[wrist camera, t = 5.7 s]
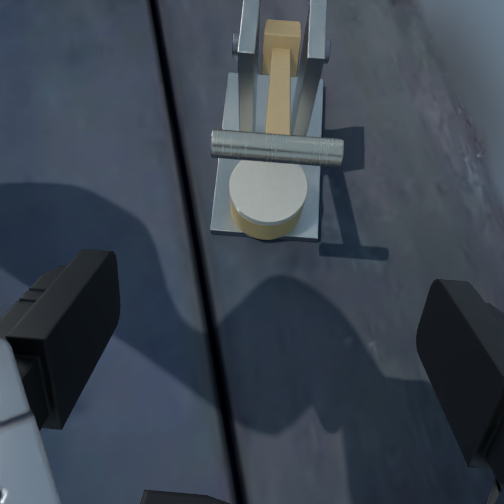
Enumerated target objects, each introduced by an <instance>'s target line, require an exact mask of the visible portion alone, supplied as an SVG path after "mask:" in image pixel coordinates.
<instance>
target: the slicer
mask: <svg viewBox="0 0 504 504" xmlns="http://www.w3.org/2000/svg"><path fill="white" fill-rule="evenodd" d="M326 13H327V0H310V4H309V10H308V16H307V23H306V29H305V35H304V41H303V47H302V53H301V59H300V65H299V71H298V77H297V78H296V77H291V135H299V136H312V137H322V111H323V83H324V80H322V79H320V77H321V73H322V69H323V64H327V63H328V61H329V56H330V50H331V40H330V39H326ZM259 23H260V0H243V8H242V17H241V26H240V32H234V33H233V41H232V55H233V57H238V73H231V72H229V74H228V82H227V91H226V99H225V108H224V116H223V125H222V130H235V131H248V132H260V133H265V127H266V115H267V103H268V91H269V79H270V75H258V49H259ZM240 161H242V160H234V159H222V158H219V159H218V168H217V176H216V185H215V193H214V202H213V210H212V219H211V227H210V231H211V234H218V235H231V236H243V237H251V236H249V235H247V234H246V233H244V232H243V231H242V230H241V229H240V228H239V227H238V226H237V225H236V223H235V221H234V219H233V217H232V213H231V205H230V192H229V182H230V177H231V174H232V172H233V170H234V168H235V167H236V166H237V164H238V163H239V162H240ZM299 166H300V167H301V168H302V170H303V171H304V173H305V176H306V179H307V184H308V191H307V196H306V200H305V203H304V206H303V209H302V212H301V216H300V219H299V221H298V223H297V224H296V226H295V227H294V228H293V229H292V230H291V231H290V232H289V233H287V234H286V235H284V236H282V237H280V238H276V239H281V240H293V241H305V242H316V241H317V239H318V224H319V196H320V168H321V166H311V165H299Z"/></svg>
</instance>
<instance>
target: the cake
mask: <svg viewBox="0 0 504 504" xmlns="http://www.w3.org/2000/svg"><path fill="white" fill-rule="evenodd" d="M307 191H308V184H307V179H306V176H305V173H304V171H303V170H302V168H301V167H300V166H299V165H298V164H285V163H273V162H260V161H247V160H242V161H240V162H239V163H238V164H237V166H236V167H235V168H234V170H233V172H232V174H231V177H230V182H229V192H230V205H231V213H232V217H233V219H234V221H235V223H236V225H237V226H238V227H239V228H240V229H241V230H242V231H243V232H244V233H246V234H247V235H249V236H251V237H254V238H257V239H262V240H271V239H276V238H280V237H282V236H284V235H286V234H287V233H289V232H290V231H291V230H292V229H293V228H294V227H295V226H296V224H297V223H298V221H299V219H300V216H301V212H302V209H303V206H304V203H305V200H306V196H307Z"/></svg>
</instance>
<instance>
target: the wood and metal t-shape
mask: <svg viewBox="0 0 504 504" xmlns="http://www.w3.org/2000/svg"><path fill="white" fill-rule="evenodd" d="M300 44H301V23H300V22H295V21H282V20H269V19H267V20H266V22H265V29H264V39H263V55H262V70H261V74H263V75H270V79H269V91H268V103H267V115H266V127H265V133H260V132H248V131H235V130H222V129H213V131H212V136H211V157H212V158H222V159H234V160H247V161H260V162H273V163H285V164H298V165H311V166H324V167H336V168H339V167H340V166H341V163H342V159H343V152H344V141H343V139H338V138H325V137H312V136H299V135H291V77H296V76H297V69H298V61H299V52H300Z"/></svg>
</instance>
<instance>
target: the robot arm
mask: <svg viewBox="0 0 504 504" xmlns="http://www.w3.org/2000/svg"><path fill="white" fill-rule="evenodd" d="M119 316H120V292H119V280H118V268H117V258H116V255H115V253H114V252H113V251H105V250H93V249H82V250H81V251H80V252H79V253H78V254H77V255H76V256H75V257H74V258H73V260H72V261H71V262H70V263H69V264H68V265H67V266H66V267H65V266H59V267H57V268H55V269H53V270H51V271H49V272H47V273H46V274H44V275H42V276H40V278H39V279H38V280H37V281H36V282H35V283H34V284H33V285H32V286H31V287H30V288H29V291H26V292H25V293H24V294H23V295H22V297H21V298H20V300H19V301H17V302H16V303H15V304H14V305H13V306H12V307H11V308H10V309H9V310H8V311H7V312H6V313H5V314H4V316H3V317H2V318H1V319H0V504H61V501H60V498H59V495H58V491H57V488H56V485H55V482H54V478H53V475H52V472H51V469H50V465H49V462H48V459H47V455H46V452H45V449H44V446H43V442H42V439H41V436H40V433H39V431H40V430H41V428H47V429H59V430H62V428H63V426H64V424H65V423H66V421H67V419H68V417H69V415H70V413H71V411H72V409H73V408H74V406H75V404H76V402H77V400H78V398H79V396H80V394H81V393H82V391H83V389H84V387H85V385H86V383H87V381H88V379H89V377H90V376H91V374H92V372H93V370H94V368H95V366H96V364H97V362H98V361H99V359H100V357H101V355H102V353H103V351H104V349H105V347H106V345H107V344H108V342H109V340H110V338H111V336H112V334H113V332H114V330H115V329H116V326H117V324H118V320H119ZM416 346H417V351H418V354H419V357H420V359H421V361H422V364H423V366H424V368H425V370H426V373H427V375H428V377H429V380H430V382H431V384H432V386H433V389H434V391H435V393H436V395H437V398H438V400H439V402H440V404H441V407H442V409H443V411H444V413H445V416H446V418H447V420H448V422H449V425H450V427H451V429H452V432H453V434H454V436H455V438H456V441H457V443H458V445H459V447H460V450H461V452H462V454H463V456H464V459H465V461H466V463H467V465H468V467H473V468H484V469H492V471H493V473H494V475H495V477H496V478H495V480H494V482H493V484H492V486H491V488H490V490H489V493H488V496H487V498H486V501H485V504H504V313H502V312H501V311H499V310H498V309H497V308H495V307H494V306H492V305H491V304H490V303H485V302H484V301H483V299H482V298H481V297H480V295H479V294H478V293H477V292H476V290H475V289H474V288H473V286H472V285H471V284H470V283H469V282H465V281H454V280H442V279H436V280H434V281H433V283H432V284H431V287H430V290H429V293H428V296H427V299H426V303H425V306H424V309H423V313H422V316H421V319H420V323H419V326H418V329H417V335H416ZM140 504H230V503H227V502H224V501H221V500H219V499H216V498H213V497H210V496H207V495H198V494H187V493H176V492H164V491H153V490H144V492H143V496H142V499H141V503H140Z"/></svg>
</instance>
